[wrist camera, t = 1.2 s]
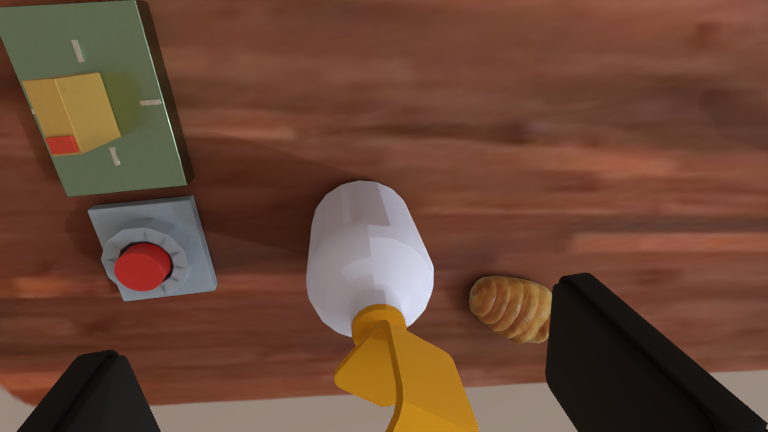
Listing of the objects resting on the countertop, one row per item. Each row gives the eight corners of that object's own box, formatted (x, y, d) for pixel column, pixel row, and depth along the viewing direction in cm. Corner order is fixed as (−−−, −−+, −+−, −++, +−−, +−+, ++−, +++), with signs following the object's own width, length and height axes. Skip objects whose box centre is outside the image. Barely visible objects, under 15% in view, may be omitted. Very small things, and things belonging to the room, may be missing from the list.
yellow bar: (72, 73, 27) (17, 81, 23) (99, 71, 27) (51, 78, 23) (95, 138, 29) (50, 157, 24) (121, 136, 29) (81, 155, 25)
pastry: (452, 309, 42) (463, 333, 39) (485, 258, 40) (500, 278, 37) (522, 334, 45) (538, 358, 41) (556, 287, 43) (576, 308, 39)
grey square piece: (94, 204, 33) (73, 219, 30) (193, 195, 34) (181, 208, 31) (129, 294, 37) (113, 314, 34) (218, 283, 38) (209, 302, 35)
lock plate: (10, 9, 27) (-15, 7, 25) (147, 2, 28) (134, -1, 26) (81, 188, 32) (65, 198, 30) (195, 177, 33) (186, 186, 31)
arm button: (118, 244, 32) (106, 255, 30) (164, 239, 32) (155, 250, 31) (132, 282, 34) (122, 294, 32) (176, 277, 34) (168, 288, 32)
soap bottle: (293, 237, 37) (233, 547, 14) (350, 159, 34) (388, 382, 12) (371, 282, 40) (422, 596, 17) (429, 213, 37) (575, 472, 15)
